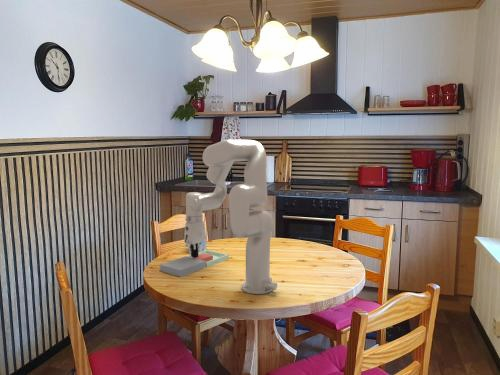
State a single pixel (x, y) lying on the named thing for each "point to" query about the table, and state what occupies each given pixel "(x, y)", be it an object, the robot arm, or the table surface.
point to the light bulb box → (202, 244)
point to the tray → (214, 257)
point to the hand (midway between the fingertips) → (194, 256)
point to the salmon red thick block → (204, 257)
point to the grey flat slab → (182, 266)
